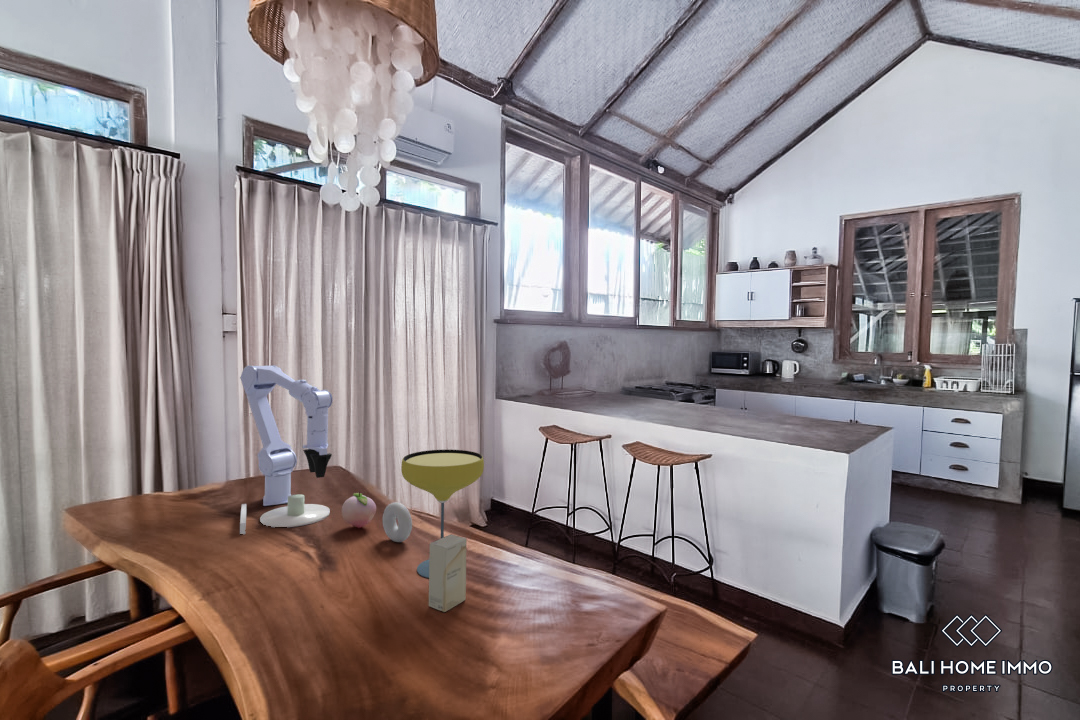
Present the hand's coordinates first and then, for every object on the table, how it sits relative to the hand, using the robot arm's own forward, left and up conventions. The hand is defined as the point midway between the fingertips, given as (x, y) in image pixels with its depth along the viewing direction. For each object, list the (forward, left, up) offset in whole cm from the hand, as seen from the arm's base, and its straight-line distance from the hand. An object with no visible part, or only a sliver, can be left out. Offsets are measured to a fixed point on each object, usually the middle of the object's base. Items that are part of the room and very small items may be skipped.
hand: (317, 474), depth 148 cm
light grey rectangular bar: (+5, -19, -10) cm, 22 cm away
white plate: (+5, -6, -10) cm, 13 cm away
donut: (+37, +15, -11) cm, 41 cm away
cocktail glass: (+57, +20, -11) cm, 61 cm away
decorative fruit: (+23, +8, -11) cm, 27 cm away
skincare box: (+72, +16, -11) cm, 75 cm away
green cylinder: (+5, -6, -10) cm, 12 cm away
